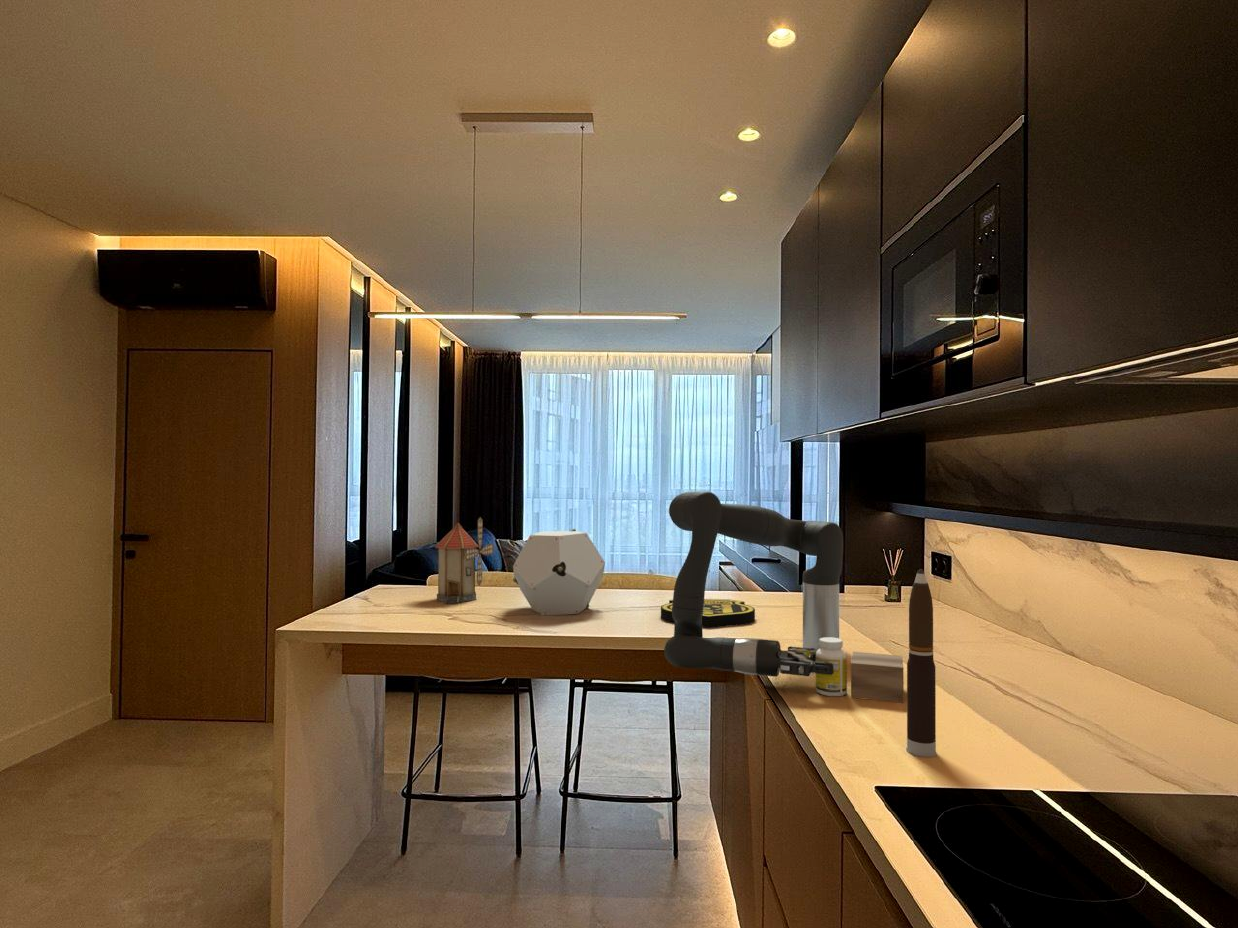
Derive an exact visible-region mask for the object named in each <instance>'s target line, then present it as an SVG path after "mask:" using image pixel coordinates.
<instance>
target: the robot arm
mask: <svg viewBox="0 0 1238 928" xmlns="http://www.w3.org/2000/svg"><path fill="white" fill-rule="evenodd" d="M668 514H669V517H670V519H671V522H673V524H674V525H675V526H676V527H677V528H679V529H681V530H683V531H685V532H686V531H687V532H691V541H690V542H691V543H690V546H689V550H688V553H687V556H686V558H685V559H684V563H683V564H682V566H681V569H680V570H679V572H678V575H677V577H676V579H675V584H674V587H673V595H672V600H673V604H672V606H673V607H672V618H673V619H674V621H675V623H674V627H673V629H674V630H673V631H674V632H673V636H671V637H669V639H668V640H667V641H666V643H665V645H664V650H663V652H664V656H665V659H666V660H667V661H668V663H670V665H673V666H674V667H676V668H681V669H682V668H684V669H712V670H718V671H728V672H736V673H741V674H746V675H755V676H763V677H775V678H776V677H778V676H779V675H780V674H782V675H783V674H784V675H791V676H792V675H794V676H799V677H800V676H801V677H811V675H814V674H816V673H817V674H828V675H832V674H833V672H834V665H833V664H832V663H825V662H816V652H817V650H818V649H820V648H821V647H820V646H819V639H820V638H824V637H833V638H839V639H840V577H841V574H842V570H843V559H844V557H843V556H844V535H843V532H842V529H841V527H840V526H839V525H838V524H837V523H835V522H833V521H832V522H831V521H823V520H822V521H819V520H800V519H799V520H797V519H790V518H786V517H785V516H784V515H783V514H781V513H780V512H778V511H776V510H774V509H770V508H766V507H763V506H756V505H750V504H741V503H721V501H720V499H719V497H718V496H717V495H716V494H715V493H713V492H712V491H707V490H705V491H704V490H701V491H685V492H682V493H679V494H678V495H676V496H675V497H674V498H673V499H672V500H671V502H670V504H669V508H668ZM718 535H722V536H724V537H729V538H730V539H735V540H737V541H742V542H746V543H749V544H754V545H759V546H765V547H785V548H787V549H790V550H791V549H792V550H794V551H796V552H798V553H802V554H804V555H807V556H811V557H816V560H815V561H816V562H815V565H814V566H813V567H811V568H809V569H805V570H804V571H803V573H802V646H801V647H799V646H792V645H791V646H787V650H782V649H781V648H782V647H781V644H780V641H778V640H775V639H774V640H773V639H762V638H751V637H748V638H747V637H746V638H737V637H736V638H734V637H711V638H710V637H704V636H703V635H704V634H703V627H702V614H703V606H704V599H705V596H706V595H705V593H706V585H707V579H708V578H707V577H708V573H709V568H710V564H711V560H712V556H713V553H714V549H715V545H716V540H717V537H718Z"/></svg>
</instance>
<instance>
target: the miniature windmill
mask: <svg viewBox="0 0 1238 928" xmlns="http://www.w3.org/2000/svg"><path fill="white" fill-rule="evenodd" d="M483 527H484V523H483V519H482V517H481V516H479V518H478V519H477V542H475V540H474V539H473V538H472V537H471V536H470V534H468V532H466V530H465V529H464V528H463V526H462V525H461V524H460V522H457V523H455V525H454V527H453V528H452V529H451V530H450V531H449V532H448V533H446V535H445V536H444V537H443V538H442V539H441V540H440V541H438V543H437V544H436V545H435V546H434V547H435V548H437V549H438V563H437V565H438V567H437V568H438V574H437V577H438V579H437V580H438V583H437V584H438V585H437V587H438V588H437V590H438V593H437V594H436V600H437V601H438V602H442V603H445V605H447V604H448V605H449V604H451V605H452V604H453V605H458V604H459V603H463V602H469V601H475V600H477V592H476V584H477V585H478V586H479V587H481V584H482V582H483V562H482V555H483V556H490V555H493V554H494V550H495V547H494V543H492V542H491V543H488V544H486V545H484V546H483V547H482V545H483V544H482V543H483V534H484V532H483V531H484V530H483V529H484V528H483ZM476 557H478V558H477V566H476ZM476 567H477V569H476Z"/></svg>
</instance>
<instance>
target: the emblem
mask: <svg viewBox="0 0 1238 928" xmlns="http://www.w3.org/2000/svg"><path fill="white" fill-rule="evenodd" d="M668 602H669V603H665V604H662V605H661V606H660V619H661V620H662V621H664V622H667V623H673V624H675V621H674V619H673V618H672V607H673V606H672V604H673V599H669V601H668ZM755 621H756V609H755V607H752V606H750V605H747V604H746V603H745V601H742V600H735V599H729V598H728V599H726V598H725V599H724V598H723V599H721V598H704V606H703V614H702V628H706V629H711V628H723V627H731V626H734V627H735V626H742V625H748V624H752V623H755Z"/></svg>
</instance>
